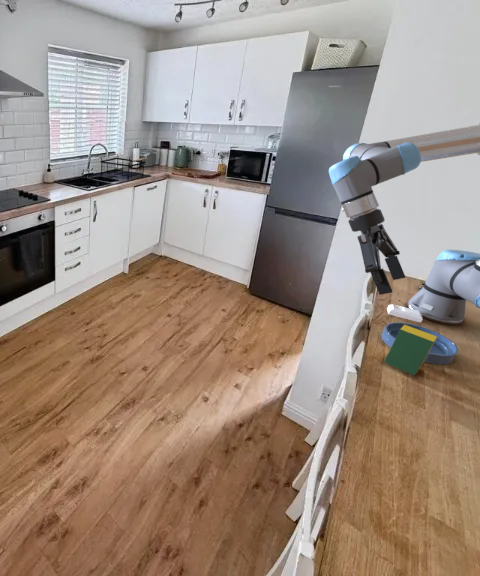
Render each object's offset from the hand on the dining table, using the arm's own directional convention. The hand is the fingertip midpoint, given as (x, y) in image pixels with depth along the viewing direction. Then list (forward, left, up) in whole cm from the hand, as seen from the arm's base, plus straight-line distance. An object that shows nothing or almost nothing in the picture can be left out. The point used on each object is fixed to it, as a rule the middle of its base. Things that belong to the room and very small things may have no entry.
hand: (393, 285), depth 100 cm
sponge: (+4, +10, -20) cm, 22 cm away
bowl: (-12, +10, -20) cm, 25 cm away
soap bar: (-32, +2, -20) cm, 38 cm away
